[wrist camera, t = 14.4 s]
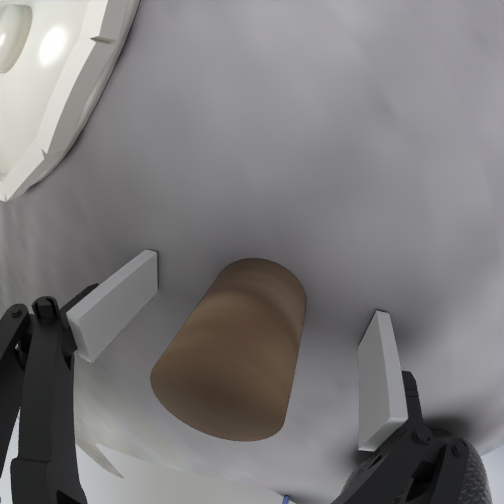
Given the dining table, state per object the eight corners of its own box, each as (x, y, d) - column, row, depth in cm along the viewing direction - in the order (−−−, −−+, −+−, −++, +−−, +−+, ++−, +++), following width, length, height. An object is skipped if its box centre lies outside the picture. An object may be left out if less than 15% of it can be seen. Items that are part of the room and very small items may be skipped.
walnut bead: (211, 322, 17) (156, 414, 10) (218, 247, 14) (143, 336, 8) (293, 346, 16) (268, 451, 10) (317, 272, 14) (302, 386, 7)
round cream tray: (-31, 177, 19) (-50, 185, 16) (1, -24, 7) (-17, -25, 5) (115, 212, 15) (81, 231, 12) (195, -125, 3) (176, -143, 1)
